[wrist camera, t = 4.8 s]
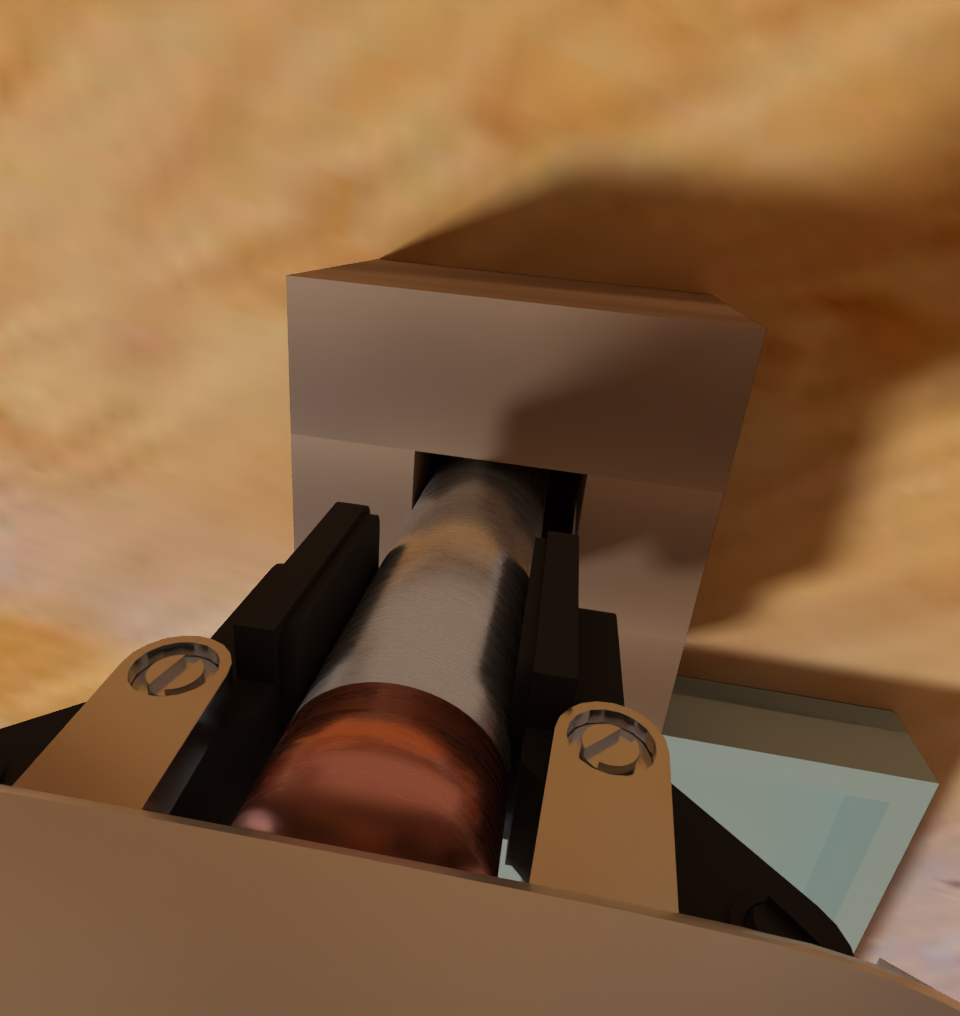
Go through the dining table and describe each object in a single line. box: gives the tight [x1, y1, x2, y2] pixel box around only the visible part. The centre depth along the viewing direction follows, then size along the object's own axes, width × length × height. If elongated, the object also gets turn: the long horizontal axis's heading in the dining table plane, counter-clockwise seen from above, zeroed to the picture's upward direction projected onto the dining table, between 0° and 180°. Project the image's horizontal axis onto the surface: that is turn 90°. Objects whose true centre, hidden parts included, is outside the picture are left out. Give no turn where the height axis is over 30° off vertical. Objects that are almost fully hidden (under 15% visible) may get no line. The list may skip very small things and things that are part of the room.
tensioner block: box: [286, 259, 767, 733], centre depth 17 cm, size 12×9×8 cm
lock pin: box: [231, 455, 550, 877], centre depth 12 cm, size 3×3×12 cm
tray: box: [498, 675, 939, 954], centre depth 23 cm, size 14×12×3 cm
